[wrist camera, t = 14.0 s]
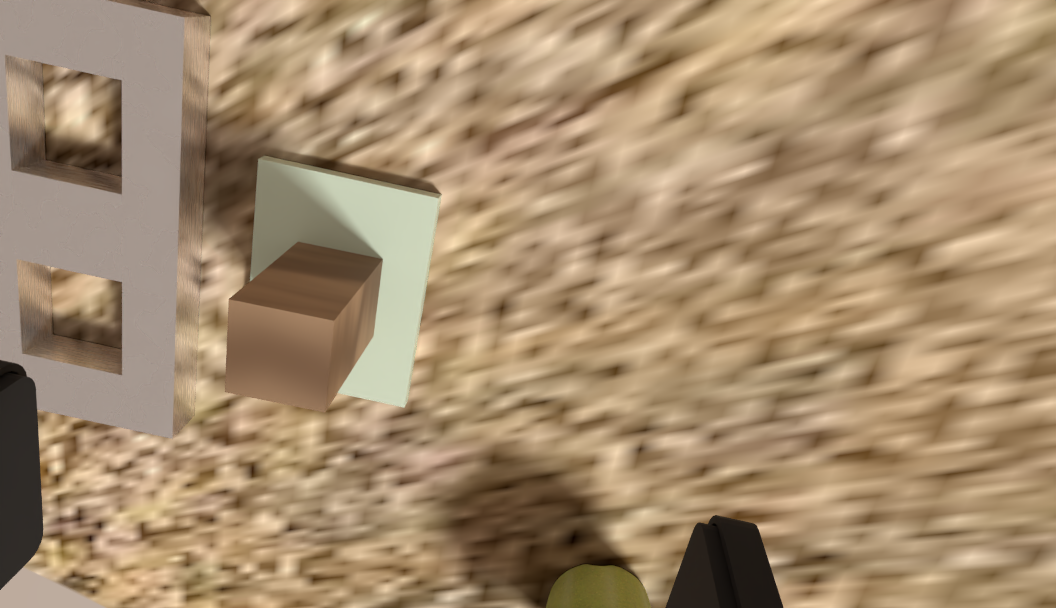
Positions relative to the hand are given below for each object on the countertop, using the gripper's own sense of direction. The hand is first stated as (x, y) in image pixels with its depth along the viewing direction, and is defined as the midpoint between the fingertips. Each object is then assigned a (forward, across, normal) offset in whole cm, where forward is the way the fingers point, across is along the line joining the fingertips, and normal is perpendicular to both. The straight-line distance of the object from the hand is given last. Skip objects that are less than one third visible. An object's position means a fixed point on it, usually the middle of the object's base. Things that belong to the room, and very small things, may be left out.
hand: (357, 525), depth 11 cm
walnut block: (+28, +8, +9) cm, 30 cm away
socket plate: (+28, +21, +8) cm, 36 cm away
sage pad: (+28, +8, +9) cm, 31 cm away
